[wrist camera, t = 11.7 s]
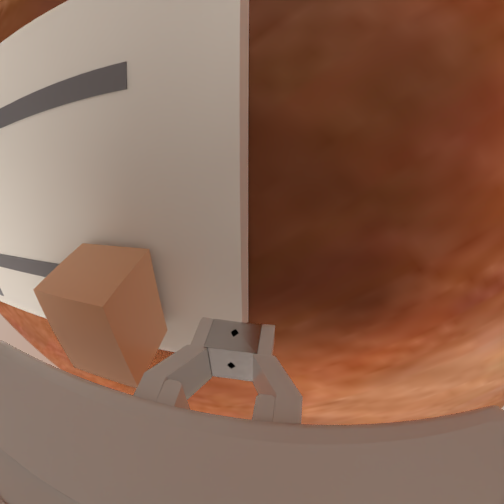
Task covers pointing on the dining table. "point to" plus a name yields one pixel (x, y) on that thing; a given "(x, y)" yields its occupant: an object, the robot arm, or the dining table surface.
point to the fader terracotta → (105, 310)
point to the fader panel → (130, 149)
